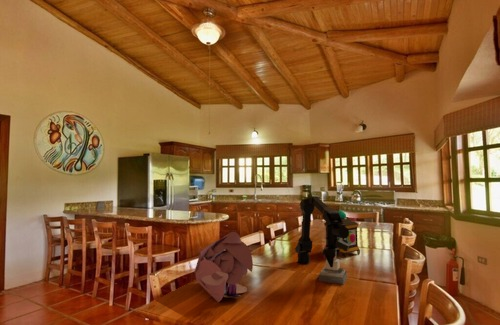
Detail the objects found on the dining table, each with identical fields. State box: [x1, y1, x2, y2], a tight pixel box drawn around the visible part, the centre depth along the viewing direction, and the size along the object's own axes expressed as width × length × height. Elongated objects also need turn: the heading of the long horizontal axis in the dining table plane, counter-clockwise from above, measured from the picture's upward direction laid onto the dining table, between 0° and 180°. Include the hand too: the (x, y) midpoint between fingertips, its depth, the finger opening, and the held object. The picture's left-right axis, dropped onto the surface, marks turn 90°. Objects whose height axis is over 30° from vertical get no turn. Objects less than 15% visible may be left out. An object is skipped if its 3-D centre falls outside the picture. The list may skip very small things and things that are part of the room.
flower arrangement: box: [193, 231, 254, 303], centre depth 129 cm, size 35×24×28 cm
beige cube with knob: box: [325, 256, 341, 270], centre depth 144 cm, size 6×6×6 cm
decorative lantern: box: [323, 210, 361, 259], centre depth 195 cm, size 20×20×30 cm
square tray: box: [318, 265, 348, 286], centre depth 143 cm, size 12×12×4 cm
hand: (332, 265), depth 144 cm, fingers closed on beige cube with knob, 6 cm apart
